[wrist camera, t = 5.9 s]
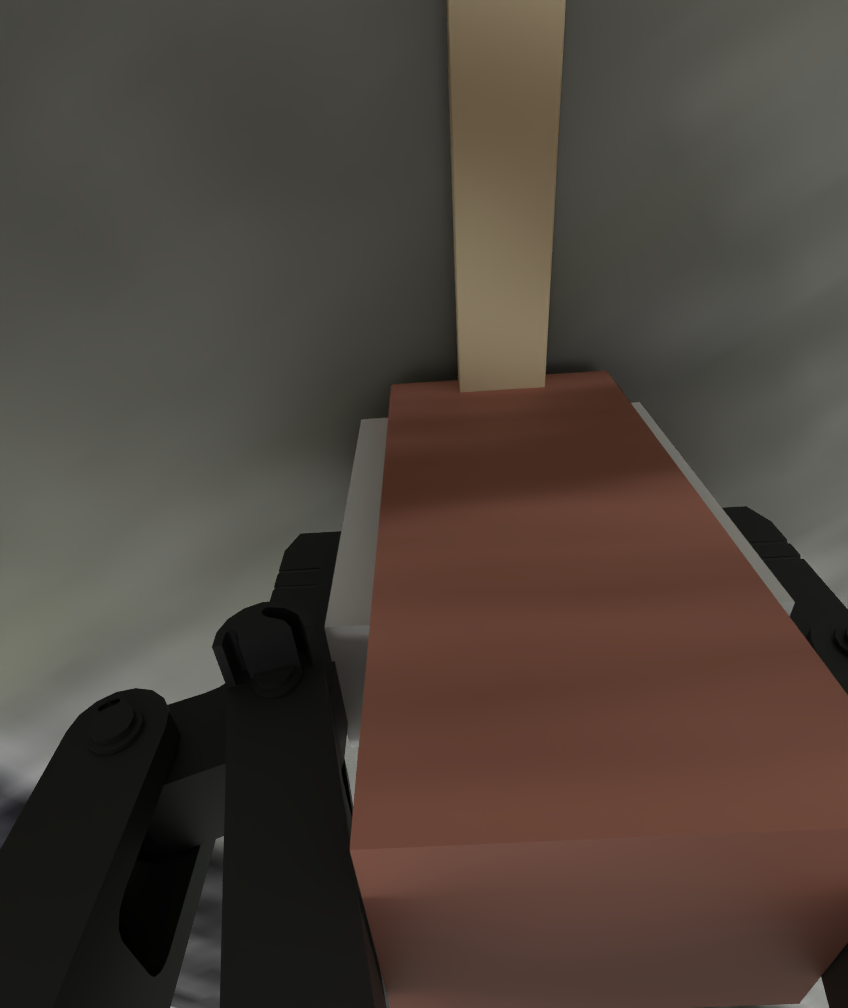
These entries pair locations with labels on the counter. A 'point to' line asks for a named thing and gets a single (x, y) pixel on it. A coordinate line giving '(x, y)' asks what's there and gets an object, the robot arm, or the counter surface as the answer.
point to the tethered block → (574, 652)
